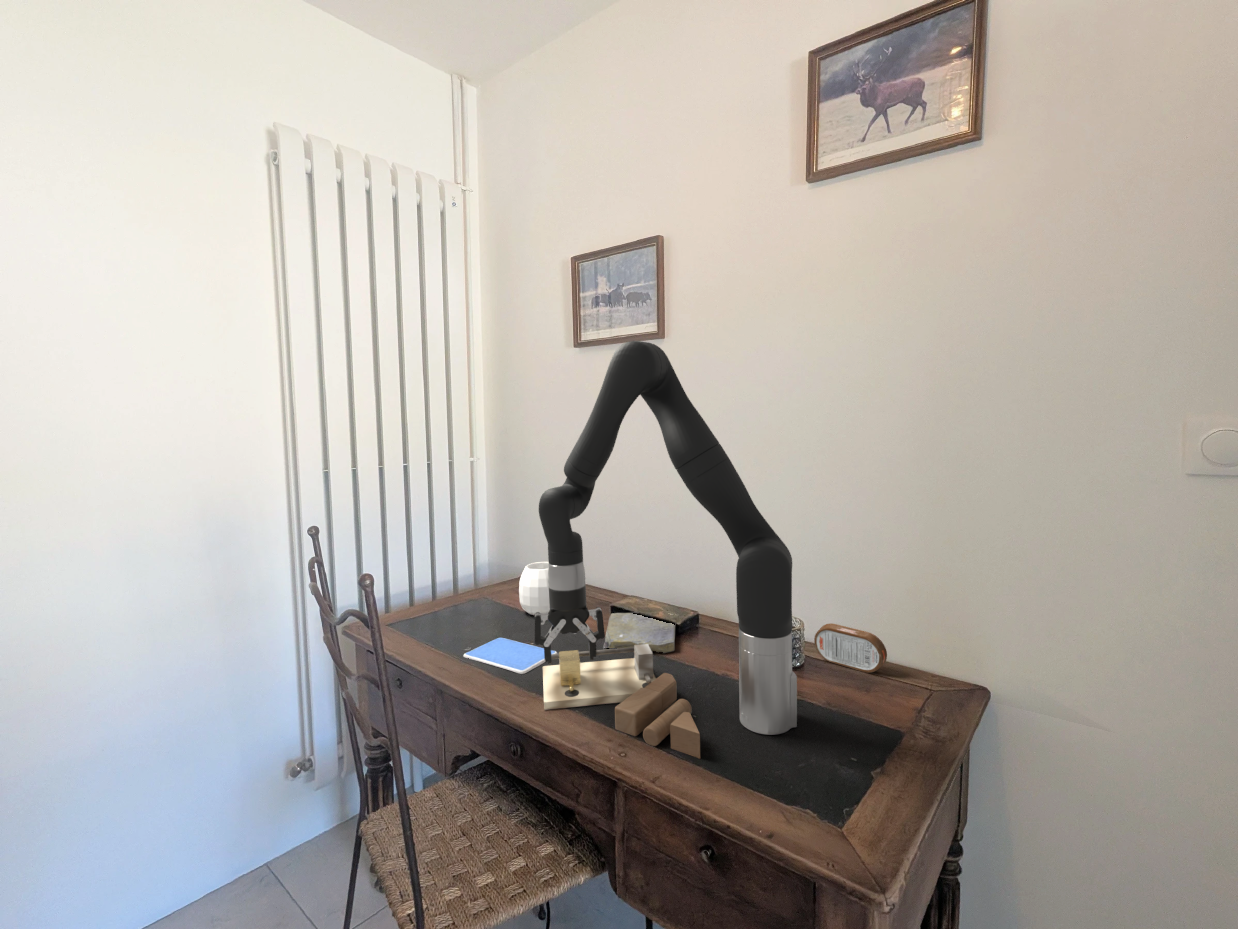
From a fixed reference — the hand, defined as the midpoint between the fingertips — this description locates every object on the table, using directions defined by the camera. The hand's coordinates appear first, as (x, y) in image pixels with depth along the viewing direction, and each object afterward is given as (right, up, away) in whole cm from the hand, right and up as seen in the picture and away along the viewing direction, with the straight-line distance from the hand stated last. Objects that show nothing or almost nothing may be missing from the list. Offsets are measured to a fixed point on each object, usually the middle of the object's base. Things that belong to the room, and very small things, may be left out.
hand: (570, 660), depth 117 cm
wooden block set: (+21, -7, -13) cm, 26 cm away
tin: (+60, -4, +7) cm, 61 cm away
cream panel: (+6, -6, +1) cm, 8 cm away
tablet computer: (-16, -6, +17) cm, 24 cm away
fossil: (+15, -4, +26) cm, 30 cm away
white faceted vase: (-12, -2, +47) cm, 49 cm away
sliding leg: (0, -4, -1) cm, 4 cm away
